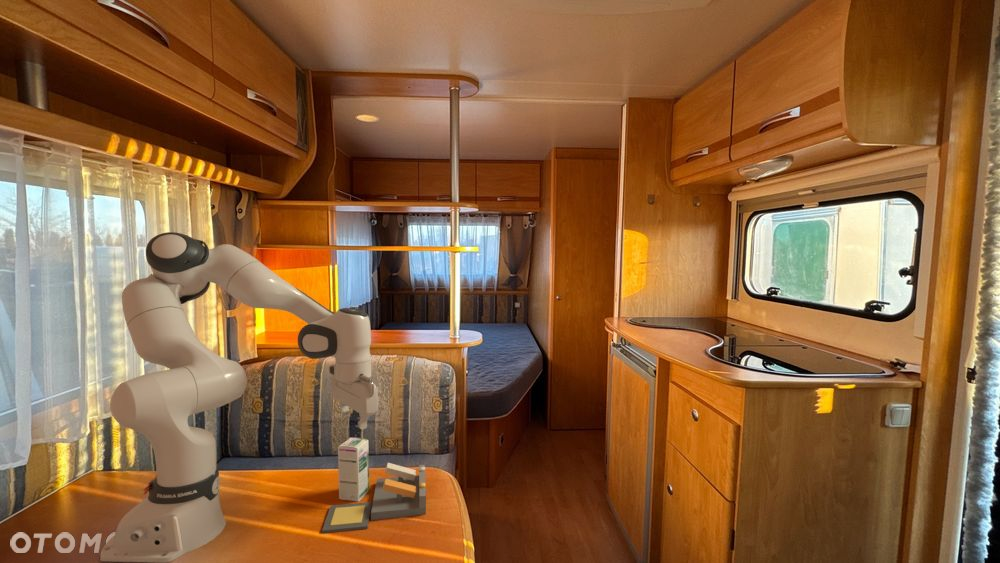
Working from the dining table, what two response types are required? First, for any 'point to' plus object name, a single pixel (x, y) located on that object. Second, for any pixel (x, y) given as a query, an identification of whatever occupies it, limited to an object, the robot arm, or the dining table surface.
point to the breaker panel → (399, 499)
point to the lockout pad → (347, 517)
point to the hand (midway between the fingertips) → (354, 422)
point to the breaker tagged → (399, 488)
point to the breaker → (400, 471)
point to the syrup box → (353, 469)
